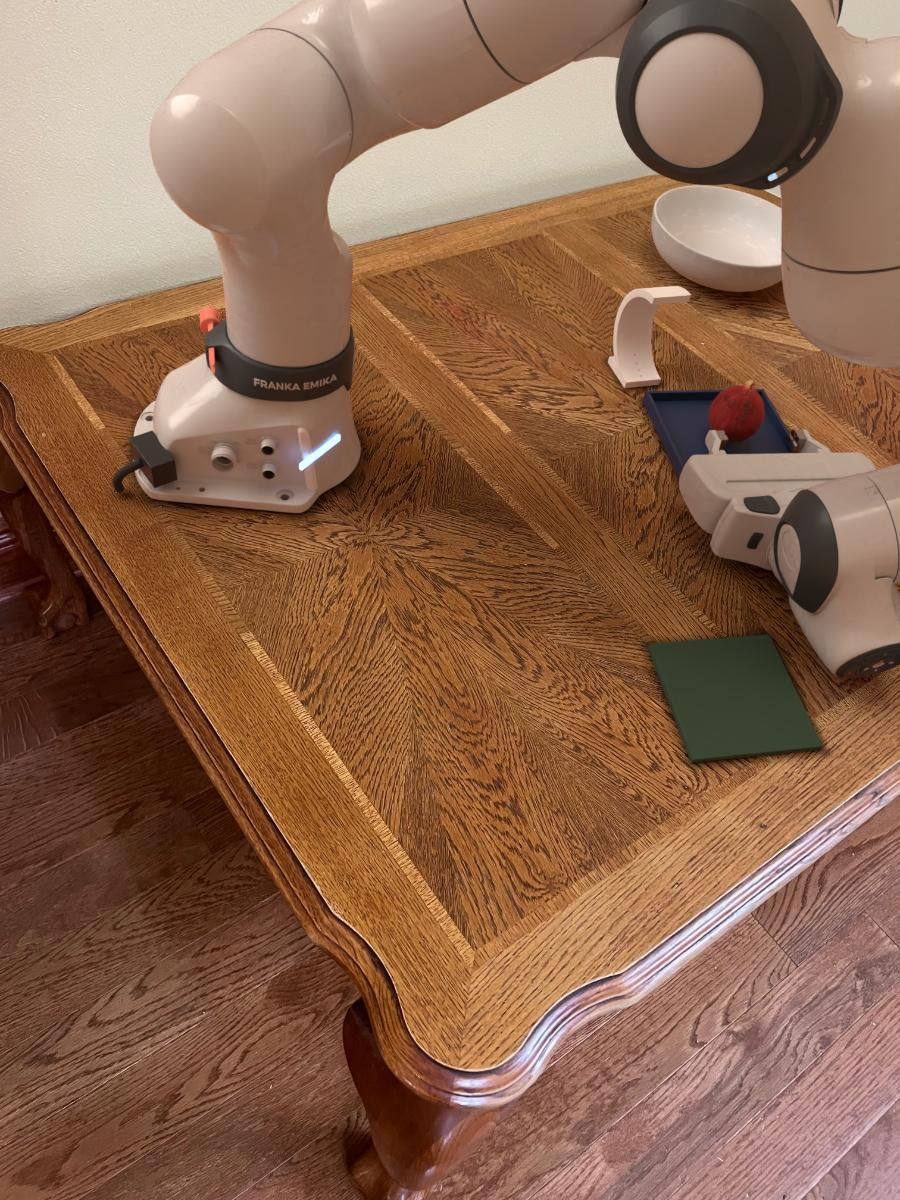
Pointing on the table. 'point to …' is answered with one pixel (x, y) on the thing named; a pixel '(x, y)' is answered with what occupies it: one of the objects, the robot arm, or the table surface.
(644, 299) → the headphone stand
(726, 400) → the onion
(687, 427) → the tray
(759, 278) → the serving bowl
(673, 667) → the dark green mat
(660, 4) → the robot arm
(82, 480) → the table surface
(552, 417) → the table surface
